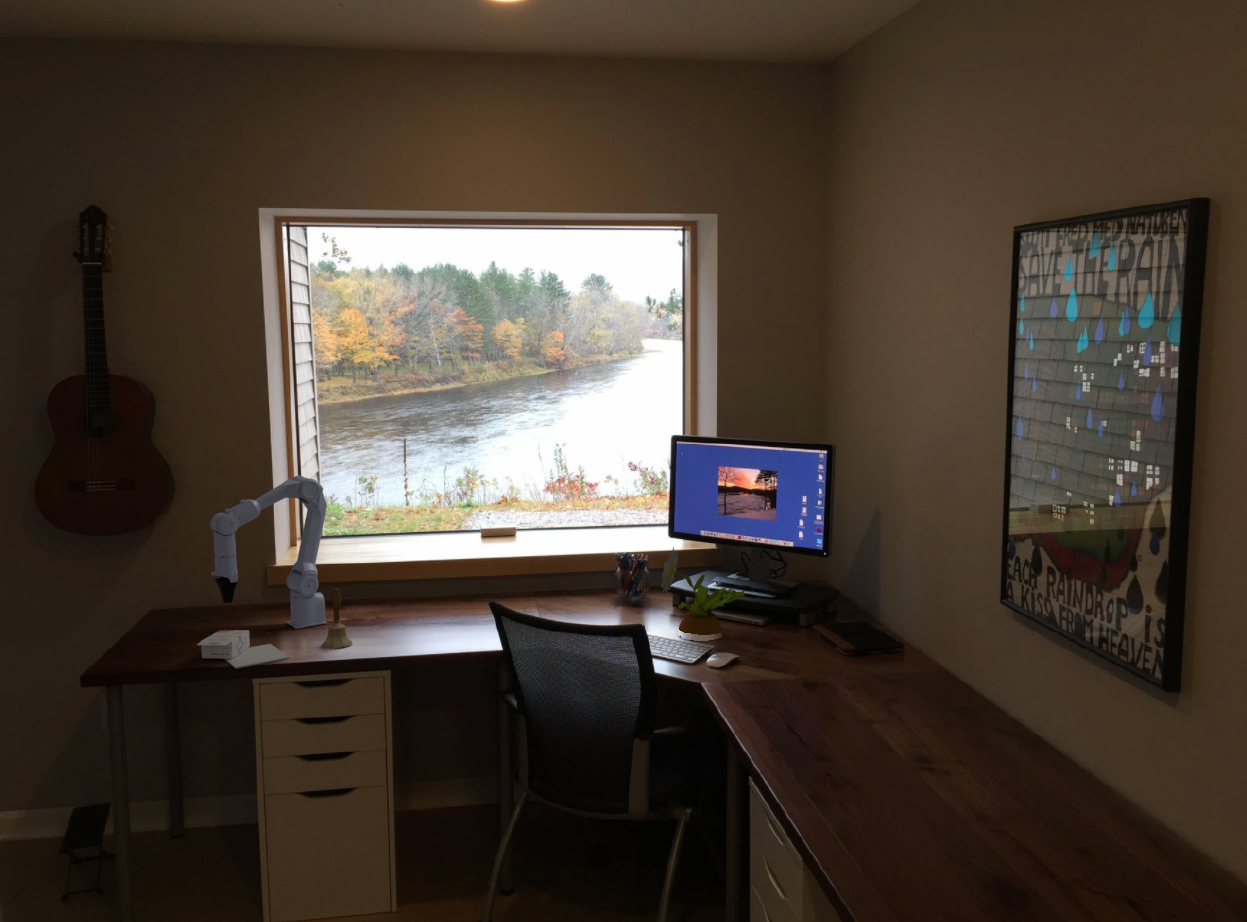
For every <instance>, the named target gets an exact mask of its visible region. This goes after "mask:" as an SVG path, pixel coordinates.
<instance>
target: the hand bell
mask: <svg viewBox="0 0 1247 922" xmlns="http://www.w3.org/2000/svg"><path fill="white" fill-rule="evenodd" d="M331 594H332V595H331V607H332V611H333V620H332V624H331V625H328V630H327V631H328V632H327V635H326V638H325V639H324V641H323V642H322V644H321V647H322V648H323V649H327V648H329V649H328V650H330V649H331V650H336V649H335V648H340V649H343V648H342V647H345V646H348V645H350V644H352V642H353V641H352V639H350V638H349V637H348V634H347V630H346V626H345V624H343V623H341V619H340V616H341V615H340V609H341V605H342V595H341V593H340V590H339V588H334V589H333V592H332V593H331ZM352 645H353V644H352ZM332 648H334V649H332Z"/></svg>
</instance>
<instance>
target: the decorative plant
mask: <svg viewBox="0 0 1247 922" xmlns="http://www.w3.org/2000/svg"><path fill="white" fill-rule="evenodd" d="M678 560H679V556H678V550H675V547H672V551H670V552H669V555H668V558H667V561H664V565H663V566H664V568H663V573H662V575H661V577H662V579H661V582H662V584H661V587H660V588H662V589H663V590H662V593H664V592H665V594H667V592H668V590H669V591H671V587H672V583H673V581H674V578H675V573H676V574H677V575H679V576H682V577H683V578H684V579H685V580H686V582H687V584H688V586H689V587H690V588H692V590H693V593H694V596H695V598H694V601H693V603H688V602H687V603H685V602H683V601H681V603H680V604H679V605H678V609H681V610H682V609H683V608H684V607H685V608H686V609H687V610H688V611H687V612H686V613H685V614H684V618H682V620H681V621H680V623H679V625H678V629H679V630H680V631H682V632H684V633H691V634H698V635H711V634H717V633H721V632H723V628H722V624H721V622H720V621H719V620H718V619H717V614H716V613H714V612H713V611H714V610H716V609H717V608H718V607H724V606H725V605H724V604H726V603H727V604H728V603H731V602H733V601H735V600H737V599H739V598H740V599H742V598H744V596H746V595H745V592H746V591H745V589H744V590H742V591H736V590H735V589H733V588H732V587H730V588H729V589H727V587H722V588H720V589H716V590H714V591H713V592H712V593H711V594H710V595H709V596H708V593H709V587H706V586H704V585H703V581H704V580H705V577H706V575H705V574H701V576H700V577H699V578H698V579H697V580H696V581H695V583H694V585H693V581H692V579H691V578H690V576H689V575H688V574H686V575H683V574H682V573H679V572H677V563H678Z"/></svg>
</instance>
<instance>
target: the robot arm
mask: <svg viewBox="0 0 1247 922" xmlns="http://www.w3.org/2000/svg"><path fill="white" fill-rule="evenodd" d="M284 499H298V500H299V501H300V502H301V503H302V504H303V506H304V507H305V508H306V509H307V511H306V515H305V520H304V525H303V530H302V535H301V540H300V544H299V550H298V554H297V559H296V562H295V563H294V564H293V565H292V567H291V571H290V573H289V574H288V575H287V577H286V580H285V581H286V586H287V588H288V589H289V590H290V592H289V594H290V595H289V598H290V599H289V600H290V618H291V619H290V620H287V621H286V624H288V625H290V626H291V627H293V628H294V629H302V628H306V627H307V628H308V627H312V626H318V625H323V624H324V625H325V624H327V621H326V603H325V597H324V594H323V593H322V592H317V591H318V589H319V581H318V575H319V572H318V569H317V566H316V564H317V563H316V562H317V557H318V552H319V548H320V544H321V537H322V532H323V528H324V523H325V519H326V514H327V513H326V512H327V507H328V503H327V501H326V497H325V494H324V487H323V486H322V485H321V484H320V482H319V481H318V480H317V479H314V478H308V477H305V476H302V475H295V476H293V477H292V478H291V479H290V478H289V479H286V480H284V481H283V482H282V483H281V484H279V485H277V486H275V487H274V488H273V489H271V490H268V492H266V493H264V494H262V495H260V496H259V497H257V498H256V499H250V498H247V499H244V498H243V499H241V500H239V503H238V504H237V505H235V506H234V505H233V507H231V508H226V509H225V510H224V512H218V513H215V514H214V515H213V517H212V518H211V520H210V523H209V528H210V530H212V531H213V550H214V571H211V572H210V575H211V576H217V577H216V578H214V582H215V583H216V585H217V586H218V589H219V592H220V596H221V599H222V602H223V603H224V604H231V603H233V601H234V595H235V591H236V588H237V585H238V584H239V581H240V578H239V574H238V573H239V571H238V565H237V564H238V563H237V550H236V549H237V544H236V532H237V531H238V529H239V528H240V527H242V526H243V525H245V524H247V523H249V522H251V521H252V520H255V519H256V518H258V517H259V516H260V514H261V511H262V510H264V509H266V508H268V507H270V506H271V505H275V504H276V503H278V502H280V501H282V500H284Z"/></svg>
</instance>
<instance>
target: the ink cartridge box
mask: <svg viewBox="0 0 1247 922" xmlns="http://www.w3.org/2000/svg"><path fill="white" fill-rule="evenodd" d="M250 644H251V641H250V630H246V629H245V630H244V629H243V630H240V629H239V630H238V629H234V630H233V629H231V630H230V629H224V630H222V629H221V630H218V631H216V632H214V633H213V634H211V635H209V636H208V637H205V638H204V639H202V640H200V642H198V643H196V646H201V658H202V659H217V660H218V659H220V660H221V659H222V660H223V659H224V660H225V659H232V658H233V657H235V656H236V655H238V654H239V653H241V652H242V651H244V650H245V649H247V648H250V647H251V645H250Z"/></svg>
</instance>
